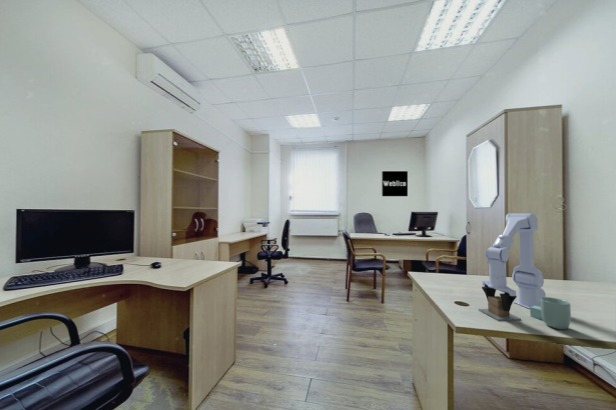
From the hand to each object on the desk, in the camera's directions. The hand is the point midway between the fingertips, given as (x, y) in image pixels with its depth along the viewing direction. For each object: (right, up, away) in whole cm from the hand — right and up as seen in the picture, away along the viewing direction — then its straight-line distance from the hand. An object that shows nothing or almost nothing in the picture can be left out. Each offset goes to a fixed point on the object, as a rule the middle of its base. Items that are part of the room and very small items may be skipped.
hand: (498, 307), depth 100 cm
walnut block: (0, -3, 0) cm, 3 cm away
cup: (+14, -3, -10) cm, 17 cm away
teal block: (+15, -3, -2) cm, 16 cm away
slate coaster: (0, -3, 0) cm, 3 cm away
